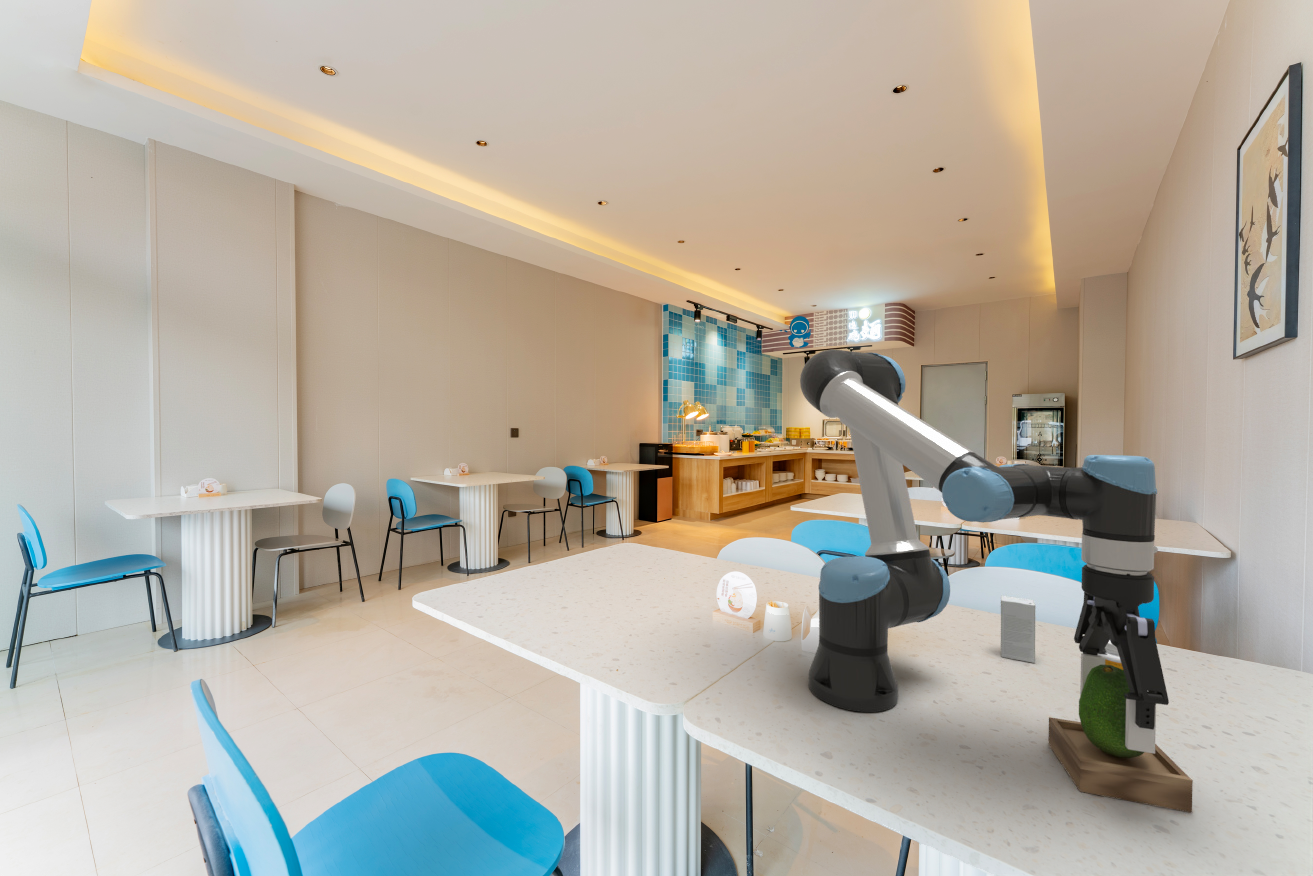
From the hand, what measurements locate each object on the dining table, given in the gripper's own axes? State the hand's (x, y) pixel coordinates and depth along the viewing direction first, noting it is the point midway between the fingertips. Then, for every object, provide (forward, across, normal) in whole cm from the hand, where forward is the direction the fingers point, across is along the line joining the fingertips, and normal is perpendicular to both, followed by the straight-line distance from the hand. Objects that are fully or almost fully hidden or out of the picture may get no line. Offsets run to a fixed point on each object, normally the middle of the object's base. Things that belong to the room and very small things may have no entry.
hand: (1114, 722), depth 74 cm
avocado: (+4, 0, 0) cm, 4 cm away
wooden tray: (+7, 0, 0) cm, 7 cm away
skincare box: (+7, +41, 0) cm, 42 cm away
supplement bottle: (+7, +26, -10) cm, 29 cm away
